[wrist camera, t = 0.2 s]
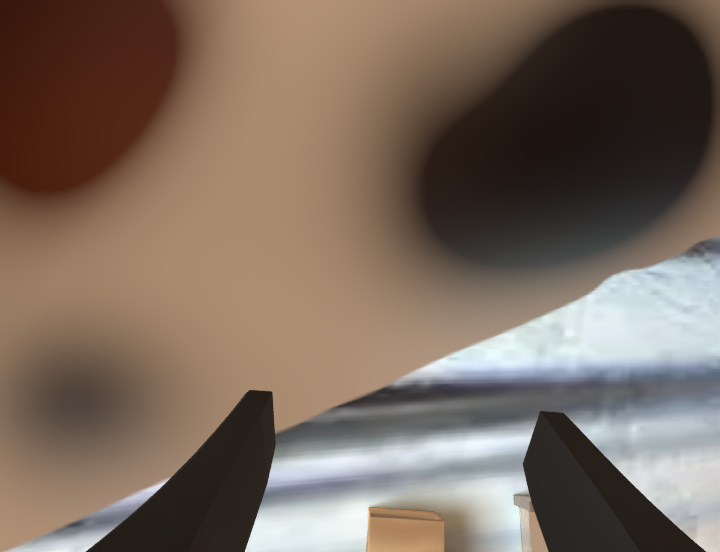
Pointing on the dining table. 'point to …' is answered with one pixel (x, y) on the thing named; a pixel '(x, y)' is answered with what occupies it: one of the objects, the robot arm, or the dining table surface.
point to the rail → (529, 526)
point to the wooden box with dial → (404, 531)
